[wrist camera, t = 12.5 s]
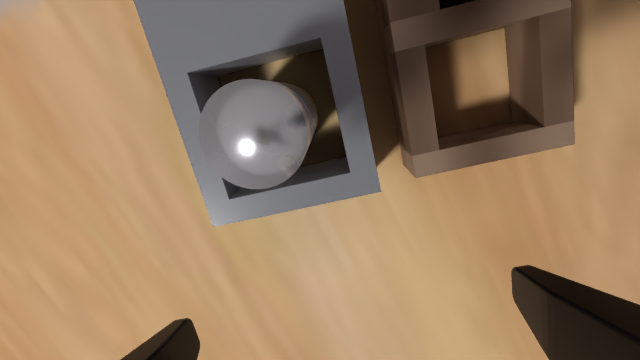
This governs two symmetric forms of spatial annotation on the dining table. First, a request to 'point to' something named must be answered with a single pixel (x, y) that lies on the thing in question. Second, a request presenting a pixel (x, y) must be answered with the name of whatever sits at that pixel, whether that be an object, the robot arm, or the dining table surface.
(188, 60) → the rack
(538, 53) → the socket block
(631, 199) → the dining table surface
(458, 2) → the pin
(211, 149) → the peg
